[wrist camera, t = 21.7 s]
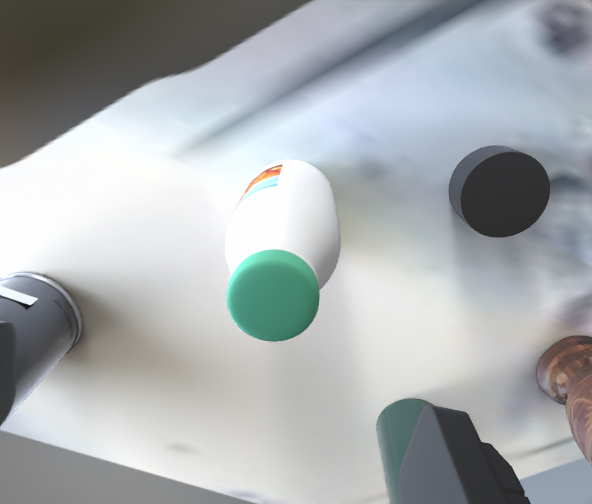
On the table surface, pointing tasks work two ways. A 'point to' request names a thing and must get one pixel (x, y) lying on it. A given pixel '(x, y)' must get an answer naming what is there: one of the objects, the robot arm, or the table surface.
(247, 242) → the milk bottle
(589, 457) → the mortar and pestle
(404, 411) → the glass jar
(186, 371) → the table surface
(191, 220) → the table surface
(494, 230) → the lid
